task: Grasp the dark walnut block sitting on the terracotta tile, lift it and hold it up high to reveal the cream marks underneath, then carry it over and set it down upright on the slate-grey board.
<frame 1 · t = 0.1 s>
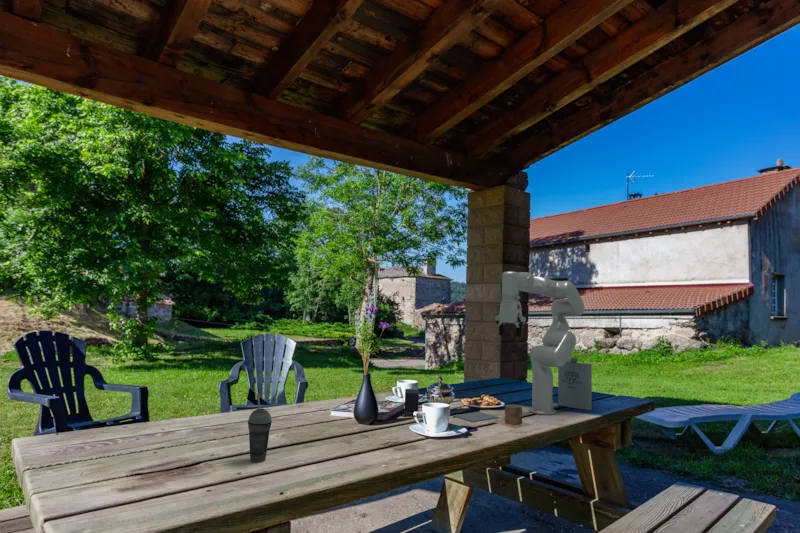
hand: (509, 335, 221), 37 cm above the table, tool pointing down, fingers open, 9 cm apart
code tile: (513, 425, 203), on the table
walnut block: (513, 423, 204), point 1 cm above the table, touching code tile
beverage cup: (257, 461, 149), on the table
flask: (574, 407, 248), on the table
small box: (411, 414, 220), on the table
slate board: (475, 419, 213), on the table
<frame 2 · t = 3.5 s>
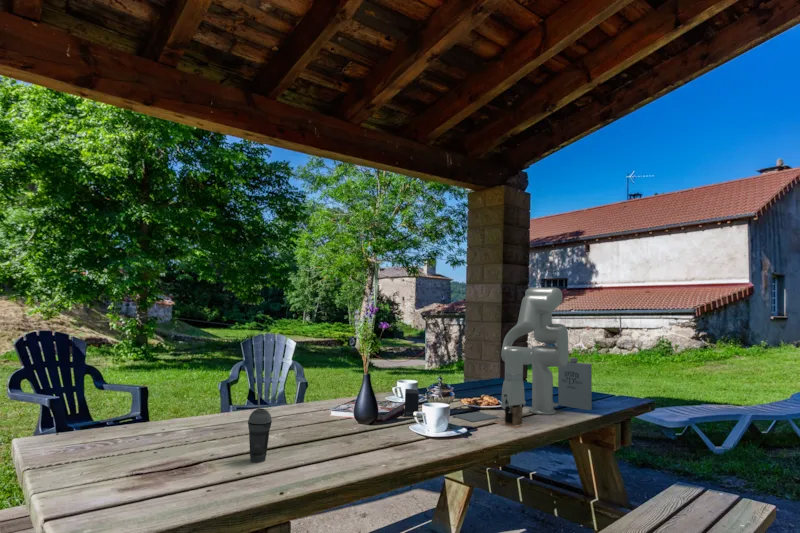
hand: (513, 421, 204), 2 cm above the table, tool pointing down, fingers closed on walnut block, 5 cm apart
walnut block: (513, 423, 204), point 1 cm above the table, touching code tile, gripper
everything else where it was.
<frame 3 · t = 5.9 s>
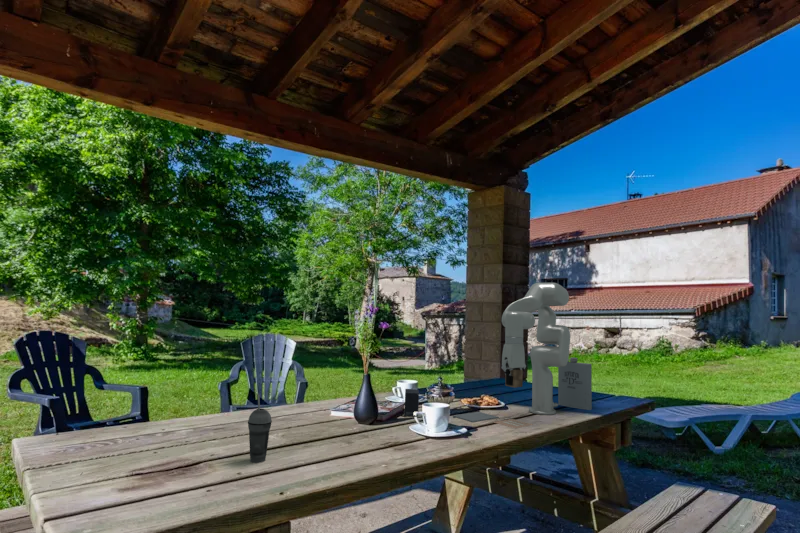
hand: (513, 384, 205), 17 cm above the table, tool pointing down, fingers closed on walnut block, 5 cm apart
walnut block: (513, 386, 205), point 16 cm above the table, touching gripper
everything else where it was.
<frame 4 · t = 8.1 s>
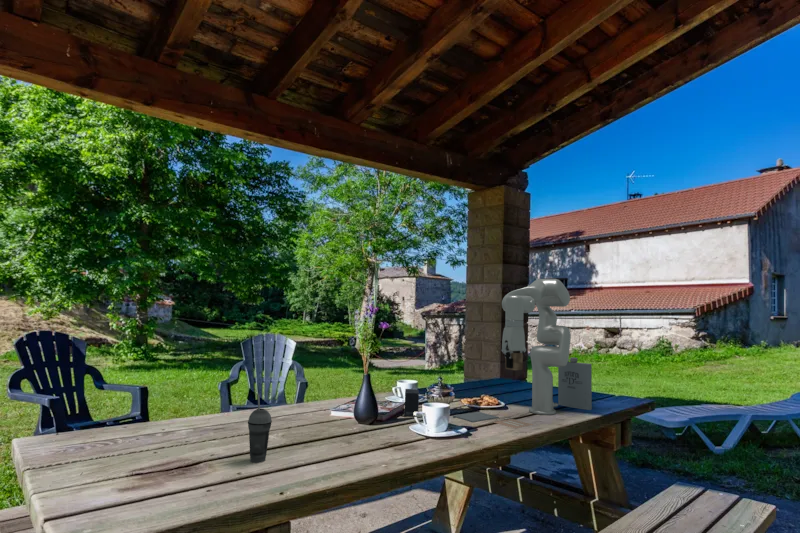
hand: (513, 367, 206), 24 cm above the table, tool pointing down, fingers closed on walnut block, 5 cm apart
walnut block: (513, 369, 205), point 23 cm above the table, touching gripper
everything else where it was.
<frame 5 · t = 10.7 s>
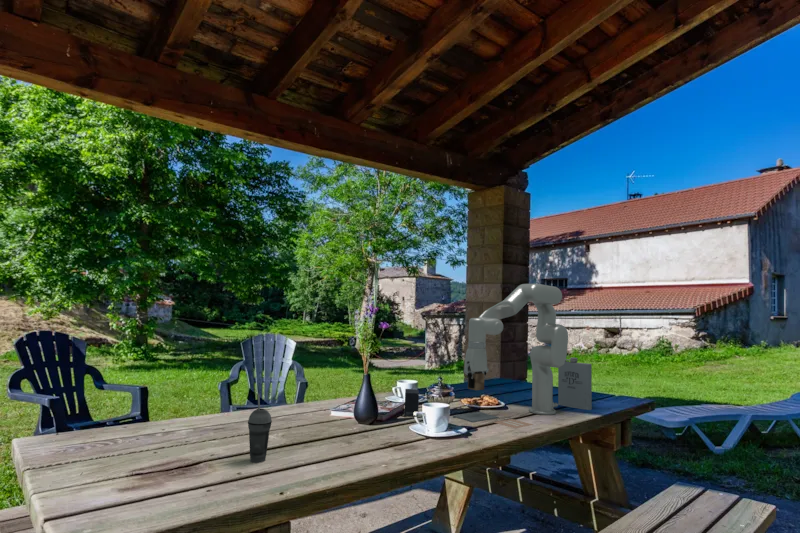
hand: (475, 387, 214), 14 cm above the table, tool pointing down, fingers closed on walnut block, 5 cm apart
walnut block: (475, 389, 214), point 13 cm above the table, touching gripper
everything else where it was.
when the fingers open (3 cm above the table, at t = 12.9 s): walnut block stays where it is, resting on slate board.
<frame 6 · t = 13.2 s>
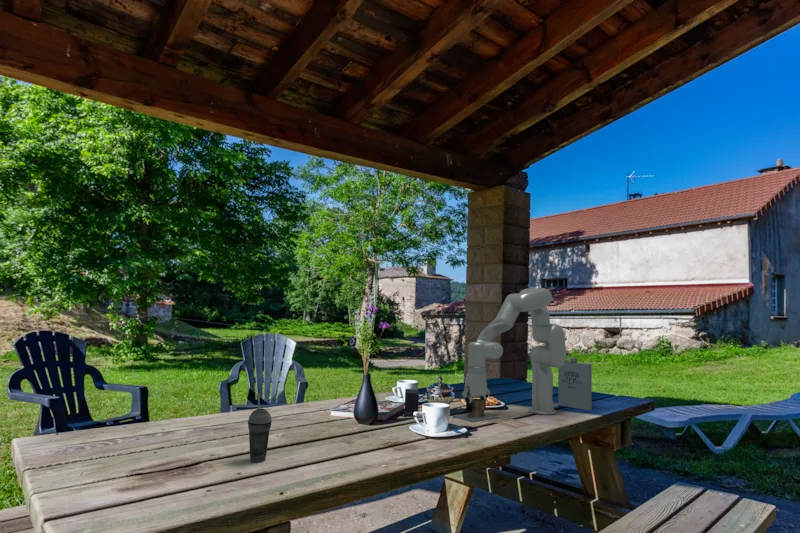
hand: (475, 410, 213), 4 cm above the table, tool pointing down, fingers open, 7 cm apart
walnut block: (476, 416, 213), point 1 cm above the table, touching slate board
everything else where it was.
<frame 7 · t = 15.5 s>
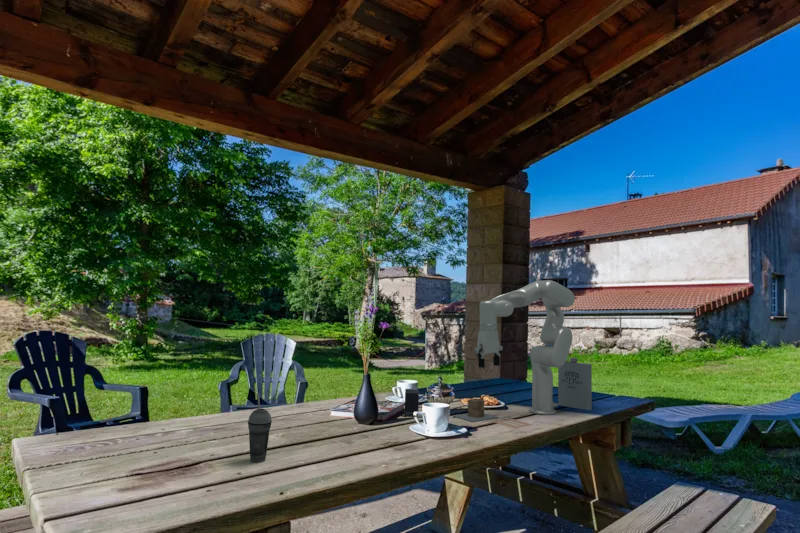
hand: (489, 366, 218), 23 cm above the table, tool pointing down, fingers open, 9 cm apart
nothing on the table moved.
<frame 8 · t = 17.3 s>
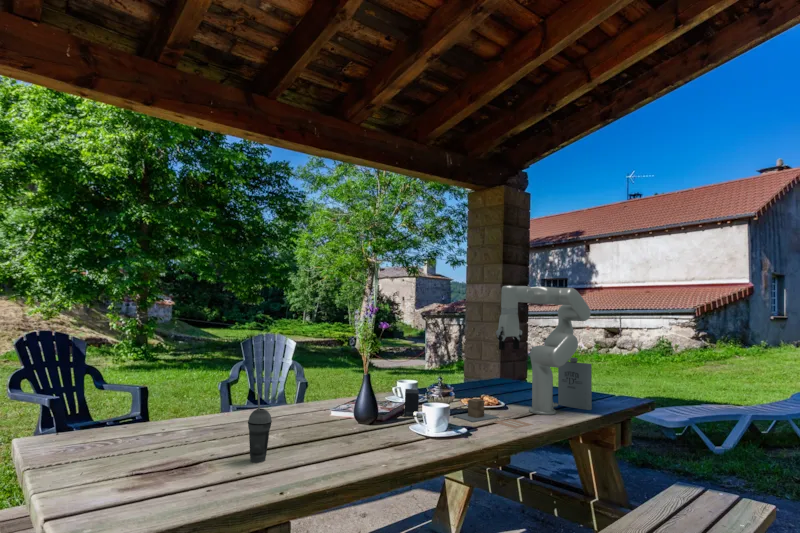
hand: (509, 349, 224), 30 cm above the table, tool pointing down, fingers open, 9 cm apart
nothing on the table moved.
at the end: walnut block inside the target area on the slate board (0.1 cm from its centre), point 1.5 cm above the slate board's base; walnut block tilted 0°; the gripper is holding nothing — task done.
